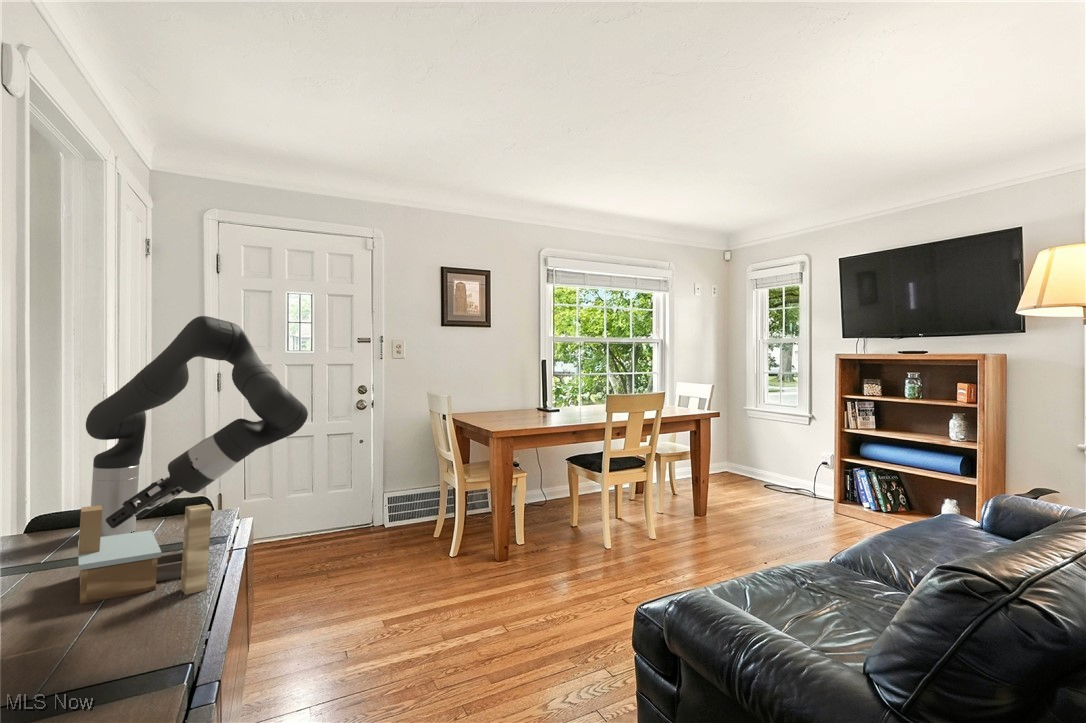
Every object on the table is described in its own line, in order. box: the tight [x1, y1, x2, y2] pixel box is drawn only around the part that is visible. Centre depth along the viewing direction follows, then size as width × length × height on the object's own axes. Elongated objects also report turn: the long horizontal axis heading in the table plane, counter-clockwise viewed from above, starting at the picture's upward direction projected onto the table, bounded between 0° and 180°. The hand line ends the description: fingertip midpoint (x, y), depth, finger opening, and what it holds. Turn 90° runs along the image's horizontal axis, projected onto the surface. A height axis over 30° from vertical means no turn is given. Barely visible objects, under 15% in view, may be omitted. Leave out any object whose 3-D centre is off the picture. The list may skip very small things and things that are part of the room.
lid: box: [77, 505, 162, 572], centre depth 104 cm, size 17×12×9 cm
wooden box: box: [78, 551, 183, 605], centre depth 106 cm, size 16×18×6 cm
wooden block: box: [180, 503, 213, 596], centre depth 102 cm, size 4×4×16 cm
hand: (122, 519), depth 96 cm, fingers open, 8 cm apart
